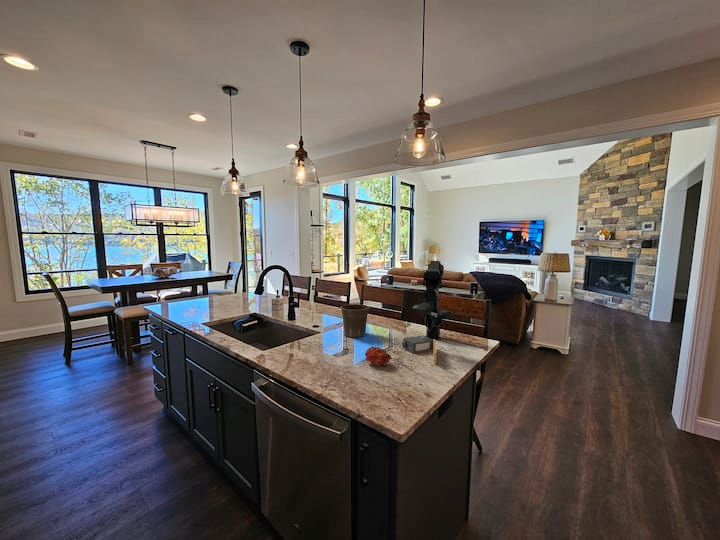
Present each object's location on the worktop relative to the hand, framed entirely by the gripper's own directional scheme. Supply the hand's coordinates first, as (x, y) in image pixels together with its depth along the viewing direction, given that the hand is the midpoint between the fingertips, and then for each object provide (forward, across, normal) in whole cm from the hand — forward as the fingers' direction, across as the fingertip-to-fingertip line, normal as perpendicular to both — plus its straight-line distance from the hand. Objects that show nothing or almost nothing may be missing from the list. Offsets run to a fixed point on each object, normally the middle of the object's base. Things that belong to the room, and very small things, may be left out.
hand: (430, 328), depth 142 cm
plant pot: (+12, -43, -12) cm, 46 cm away
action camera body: (+11, -6, -2) cm, 13 cm away
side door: (+11, +6, -4) cm, 13 cm away
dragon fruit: (+11, -5, -30) cm, 32 cm away
